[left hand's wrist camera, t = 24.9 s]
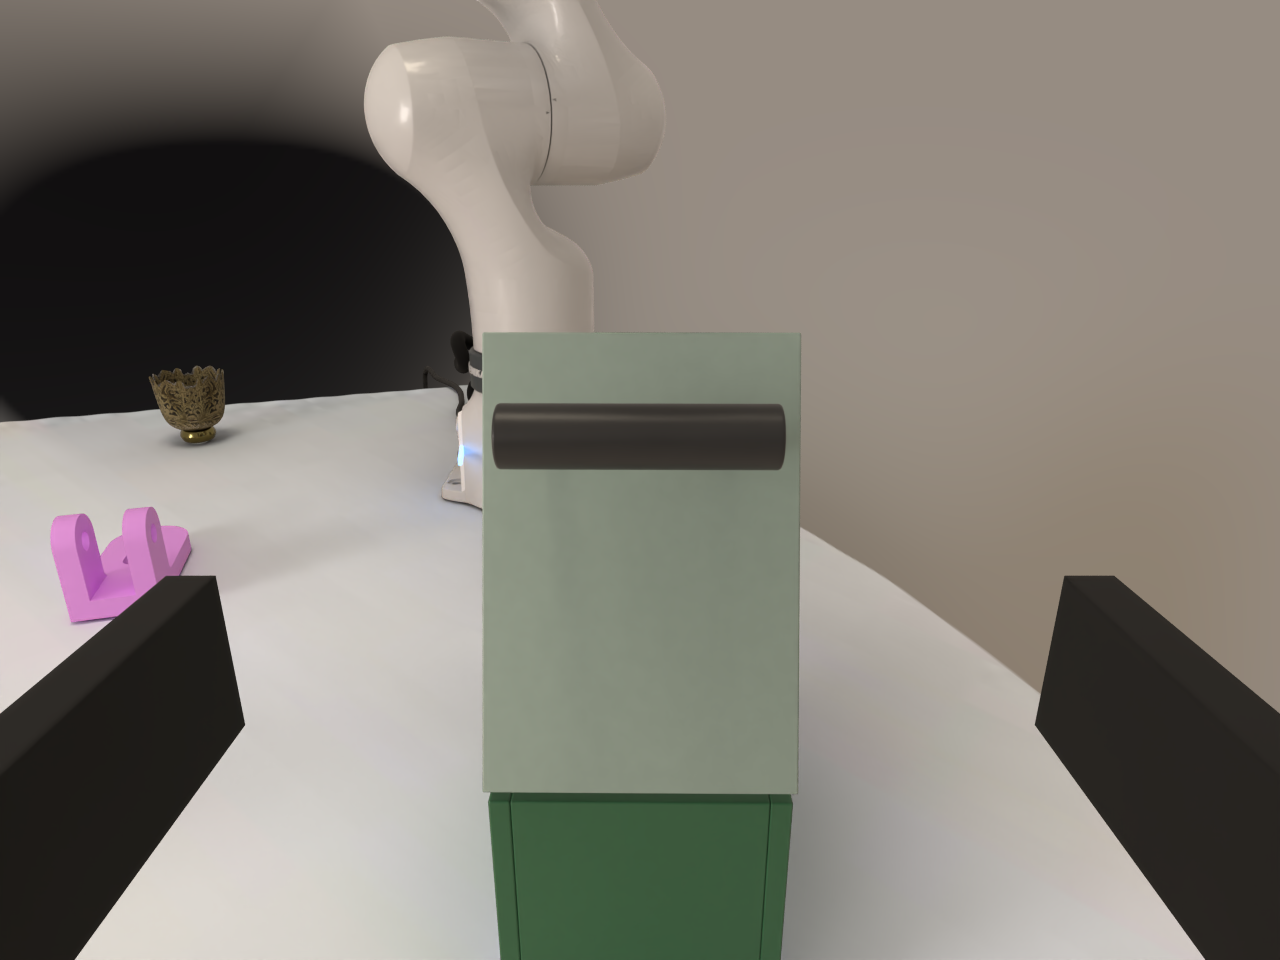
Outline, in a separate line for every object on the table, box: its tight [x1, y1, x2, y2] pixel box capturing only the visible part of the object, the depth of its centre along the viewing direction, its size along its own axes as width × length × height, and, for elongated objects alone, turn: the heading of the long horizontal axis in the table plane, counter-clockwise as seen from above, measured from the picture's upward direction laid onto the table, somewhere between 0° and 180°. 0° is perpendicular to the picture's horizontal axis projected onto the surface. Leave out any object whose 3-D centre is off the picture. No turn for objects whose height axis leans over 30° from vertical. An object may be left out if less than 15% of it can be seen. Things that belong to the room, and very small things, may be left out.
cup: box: [149, 366, 225, 443], centre depth 94 cm, size 8×7×8 cm
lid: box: [482, 332, 801, 794], centre depth 22 cm, size 14×10×9 cm
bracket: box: [51, 507, 191, 622], centre depth 61 cm, size 13×6×7 cm, turn 18°
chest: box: [488, 792, 793, 960], centre depth 35 cm, size 14×10×9 cm
